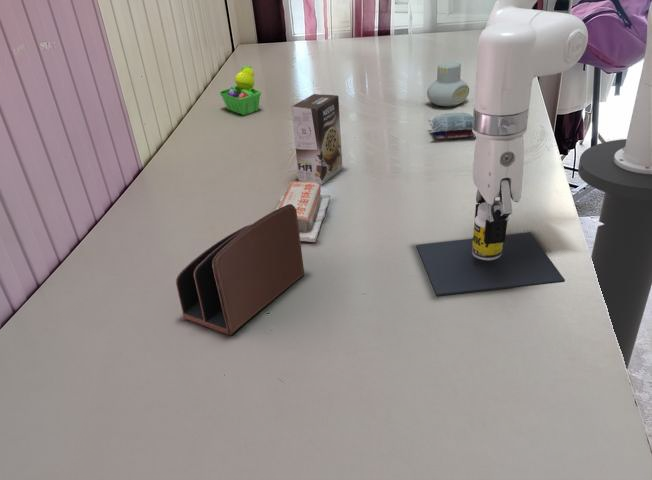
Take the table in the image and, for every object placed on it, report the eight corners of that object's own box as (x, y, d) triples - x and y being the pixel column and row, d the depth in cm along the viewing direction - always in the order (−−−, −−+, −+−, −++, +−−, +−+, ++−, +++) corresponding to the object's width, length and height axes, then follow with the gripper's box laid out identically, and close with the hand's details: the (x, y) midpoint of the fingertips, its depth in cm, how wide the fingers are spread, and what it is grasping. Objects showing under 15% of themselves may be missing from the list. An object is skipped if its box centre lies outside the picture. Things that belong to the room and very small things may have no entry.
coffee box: (322, 185, 136) (316, 108, 126) (297, 181, 139) (289, 105, 129) (344, 169, 142) (339, 94, 132) (319, 165, 145) (313, 92, 135)
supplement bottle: (465, 254, 105) (468, 207, 100) (484, 243, 107) (488, 197, 102) (488, 264, 102) (493, 216, 96) (508, 253, 104) (513, 206, 98)
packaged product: (280, 178, 129) (329, 178, 127) (283, 200, 132) (330, 200, 130) (259, 219, 115) (313, 219, 113) (263, 243, 118) (316, 243, 116)
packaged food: (427, 129, 156) (428, 109, 153) (477, 127, 154) (479, 106, 151) (429, 143, 149) (430, 122, 146) (481, 140, 147) (483, 119, 144)
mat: (529, 234, 111) (530, 232, 111) (564, 282, 99) (565, 279, 98) (416, 246, 112) (416, 244, 111) (436, 296, 99) (436, 294, 99)
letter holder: (305, 274, 108) (297, 197, 99) (230, 337, 96) (214, 255, 87) (259, 261, 113) (247, 187, 104) (183, 319, 101) (162, 240, 92)
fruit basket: (221, 109, 184) (214, 68, 177) (246, 101, 188) (240, 61, 181) (242, 117, 177) (235, 75, 170) (268, 109, 180) (262, 67, 174)
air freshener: (446, 112, 164) (448, 71, 158) (422, 106, 170) (422, 67, 164) (472, 100, 170) (475, 60, 163) (448, 95, 175) (450, 56, 169)
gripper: (547, 138, 84) (530, 258, 95) (507, 99, 97) (496, 208, 109) (491, 144, 84) (480, 263, 95) (458, 105, 97) (453, 213, 109)
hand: (489, 233), depth 102 cm, fingers closed on supplement bottle, 4 cm apart
